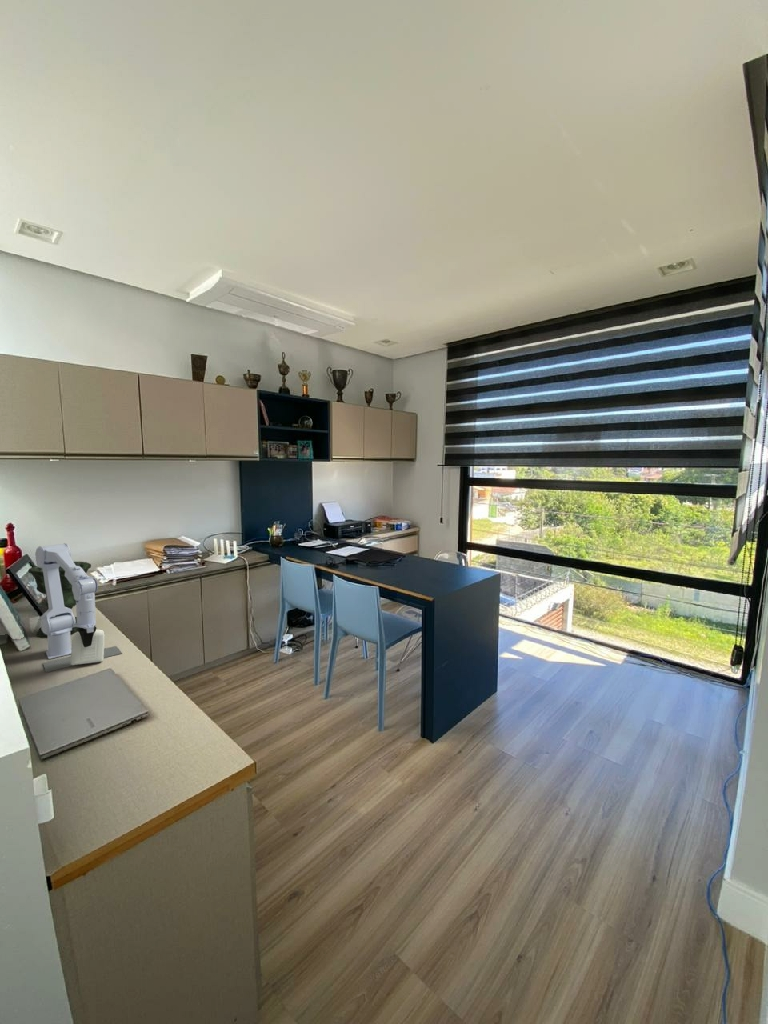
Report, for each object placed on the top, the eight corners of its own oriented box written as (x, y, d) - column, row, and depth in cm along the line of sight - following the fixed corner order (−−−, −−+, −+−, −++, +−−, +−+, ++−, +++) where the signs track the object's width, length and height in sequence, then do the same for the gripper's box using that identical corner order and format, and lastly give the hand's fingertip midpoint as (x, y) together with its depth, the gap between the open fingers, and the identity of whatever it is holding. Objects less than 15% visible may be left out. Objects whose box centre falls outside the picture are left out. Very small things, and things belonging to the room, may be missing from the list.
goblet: (30, 629, 193) (27, 565, 191) (89, 618, 208) (87, 559, 206) (32, 643, 177) (29, 574, 174) (96, 631, 192) (94, 567, 190)
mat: (42, 663, 159) (42, 662, 159) (116, 646, 175) (116, 645, 175) (46, 672, 152) (46, 671, 152) (122, 653, 169) (122, 652, 169)
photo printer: (103, 659, 163) (104, 627, 165) (103, 661, 160) (105, 628, 161) (70, 664, 157) (72, 630, 159) (70, 666, 154) (71, 631, 156)
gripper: (69, 608, 158) (70, 643, 159) (76, 618, 148) (77, 655, 149) (91, 604, 163) (93, 638, 164) (99, 613, 153) (101, 649, 154)
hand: (87, 646), depth 157 cm, fingers closed
